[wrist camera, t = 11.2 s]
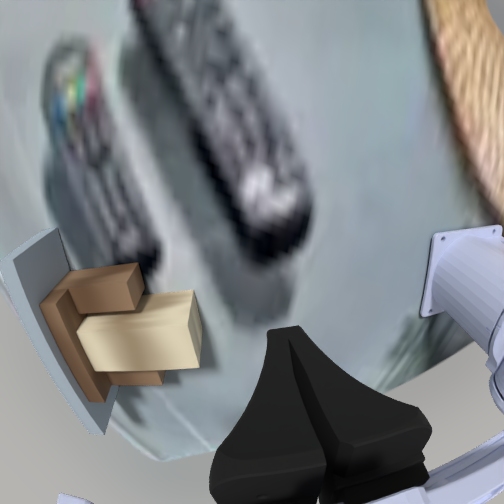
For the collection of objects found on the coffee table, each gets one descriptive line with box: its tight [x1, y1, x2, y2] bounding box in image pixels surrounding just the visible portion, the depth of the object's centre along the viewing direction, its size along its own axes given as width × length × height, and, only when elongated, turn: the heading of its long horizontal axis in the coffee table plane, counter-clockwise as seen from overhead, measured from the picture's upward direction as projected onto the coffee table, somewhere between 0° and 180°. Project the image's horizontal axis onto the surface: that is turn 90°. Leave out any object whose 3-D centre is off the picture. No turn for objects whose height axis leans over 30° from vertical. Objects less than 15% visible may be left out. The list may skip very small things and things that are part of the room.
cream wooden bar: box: [76, 290, 203, 371], centre depth 20 cm, size 8×4×4 cm, turn 96°
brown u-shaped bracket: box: [39, 263, 166, 403], centre depth 20 cm, size 6×9×5 cm, turn 6°
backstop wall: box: [0, 227, 119, 435], centre depth 19 cm, size 2×16×6 cm, turn 6°
